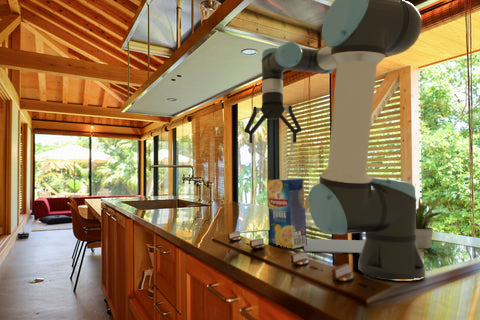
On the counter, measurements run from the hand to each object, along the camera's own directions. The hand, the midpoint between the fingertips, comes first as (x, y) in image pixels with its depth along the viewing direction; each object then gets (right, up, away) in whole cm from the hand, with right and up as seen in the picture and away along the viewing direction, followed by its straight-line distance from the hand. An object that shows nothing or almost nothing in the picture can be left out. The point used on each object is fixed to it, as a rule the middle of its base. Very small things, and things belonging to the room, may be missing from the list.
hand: (272, 152), depth 120 cm
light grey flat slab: (+20, -32, -8) cm, 39 cm away
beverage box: (+5, -32, -6) cm, 32 cm away
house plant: (+48, -32, -9) cm, 58 cm away
